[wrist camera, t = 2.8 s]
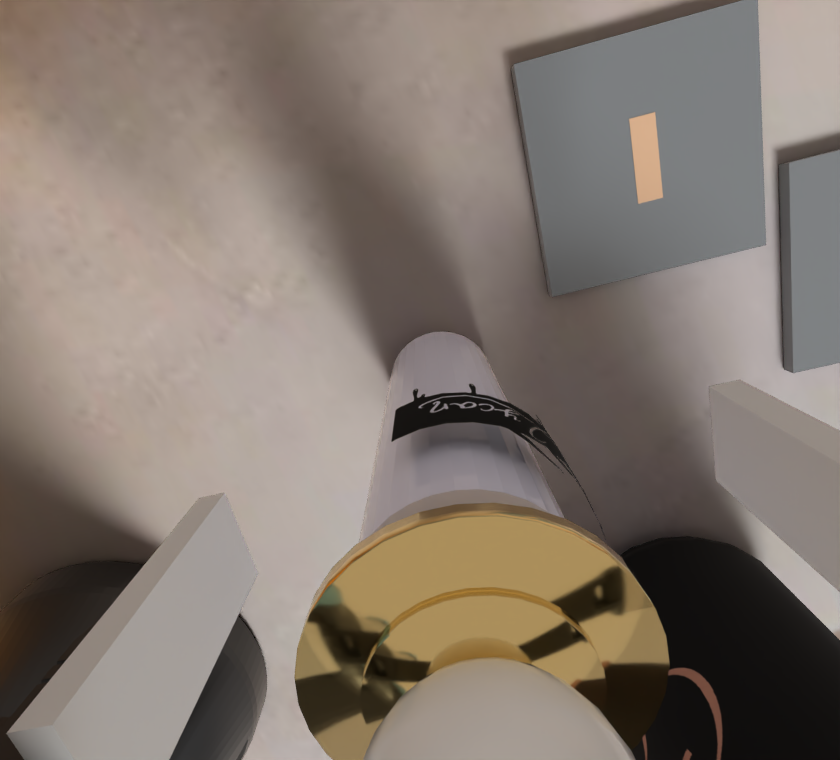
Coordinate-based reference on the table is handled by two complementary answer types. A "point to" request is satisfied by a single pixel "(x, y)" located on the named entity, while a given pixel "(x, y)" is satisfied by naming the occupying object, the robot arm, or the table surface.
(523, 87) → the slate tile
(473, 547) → the perfume bottle
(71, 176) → the table surface
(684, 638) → the coffee jar
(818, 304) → the slate code tile
